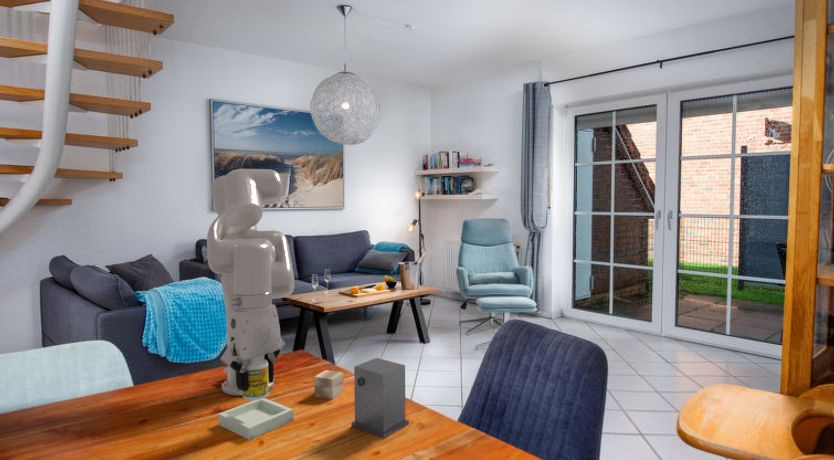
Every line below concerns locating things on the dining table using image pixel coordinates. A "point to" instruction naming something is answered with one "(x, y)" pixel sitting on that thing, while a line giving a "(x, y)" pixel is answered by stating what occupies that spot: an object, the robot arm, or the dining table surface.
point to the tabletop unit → (379, 397)
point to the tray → (255, 418)
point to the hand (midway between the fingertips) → (255, 384)
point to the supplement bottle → (257, 378)
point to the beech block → (328, 384)
